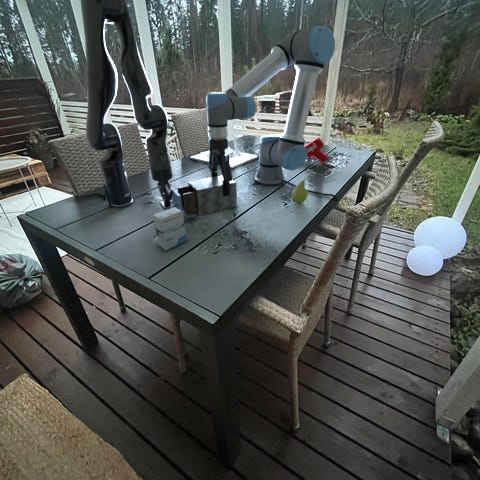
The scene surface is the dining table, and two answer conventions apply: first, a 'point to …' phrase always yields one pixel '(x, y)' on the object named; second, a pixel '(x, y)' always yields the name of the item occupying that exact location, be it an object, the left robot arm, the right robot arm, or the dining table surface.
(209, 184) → the white box dark end
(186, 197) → the drawer
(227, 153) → the relief map
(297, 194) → the fruit
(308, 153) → the toy gun
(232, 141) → the dining table surface
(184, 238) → the ink box
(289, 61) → the right robot arm
